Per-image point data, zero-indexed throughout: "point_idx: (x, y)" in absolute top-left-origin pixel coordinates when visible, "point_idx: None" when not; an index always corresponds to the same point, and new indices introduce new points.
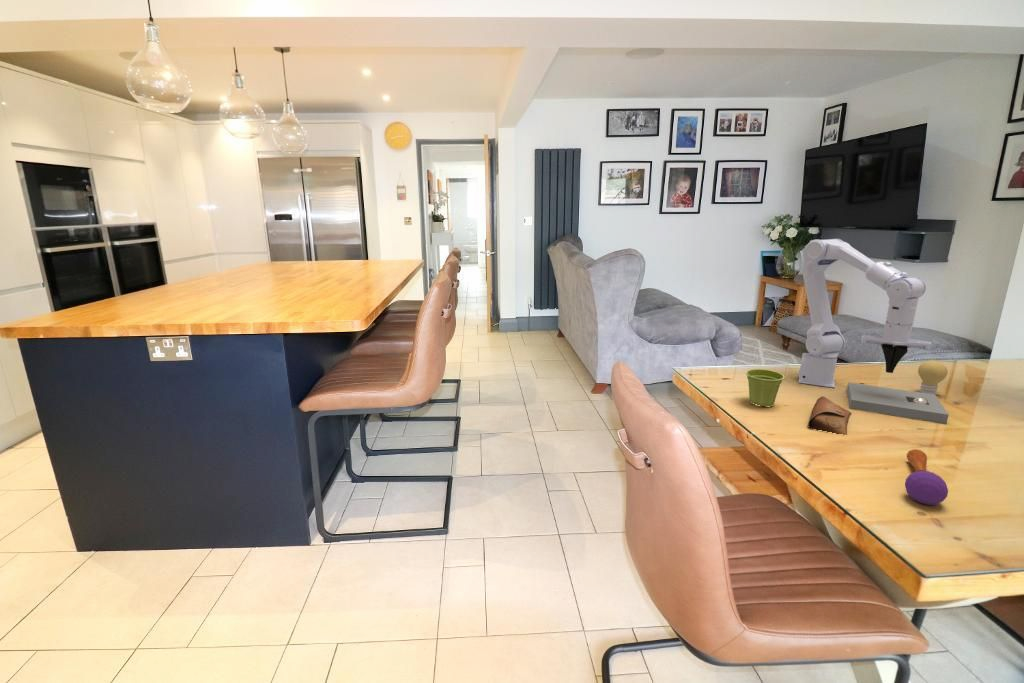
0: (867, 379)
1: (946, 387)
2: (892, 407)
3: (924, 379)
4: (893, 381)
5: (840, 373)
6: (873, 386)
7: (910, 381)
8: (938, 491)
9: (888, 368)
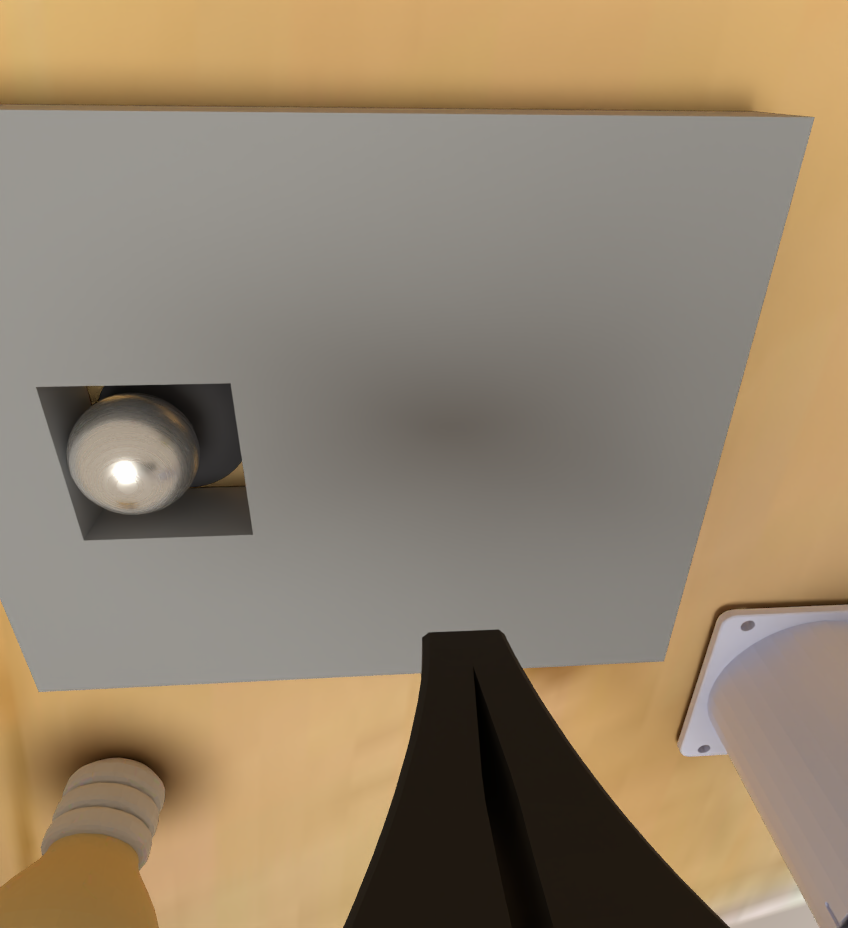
0: None
1: None
2: (388, 112)
3: (118, 871)
4: (311, 878)
5: None
6: None
7: (222, 913)
8: None
9: (505, 671)
